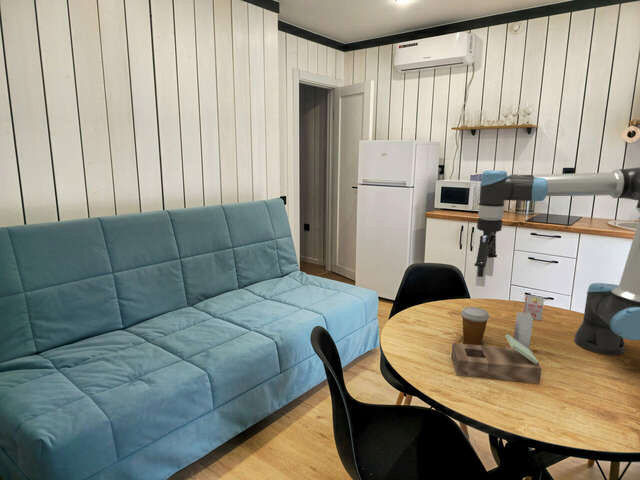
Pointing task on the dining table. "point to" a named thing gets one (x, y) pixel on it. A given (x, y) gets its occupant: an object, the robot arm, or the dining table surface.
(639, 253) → the robot arm
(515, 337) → the steel pin
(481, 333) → the disposable coffee cup
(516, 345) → the plate
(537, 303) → the tea bag
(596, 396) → the dining table surface
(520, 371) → the walnut block
